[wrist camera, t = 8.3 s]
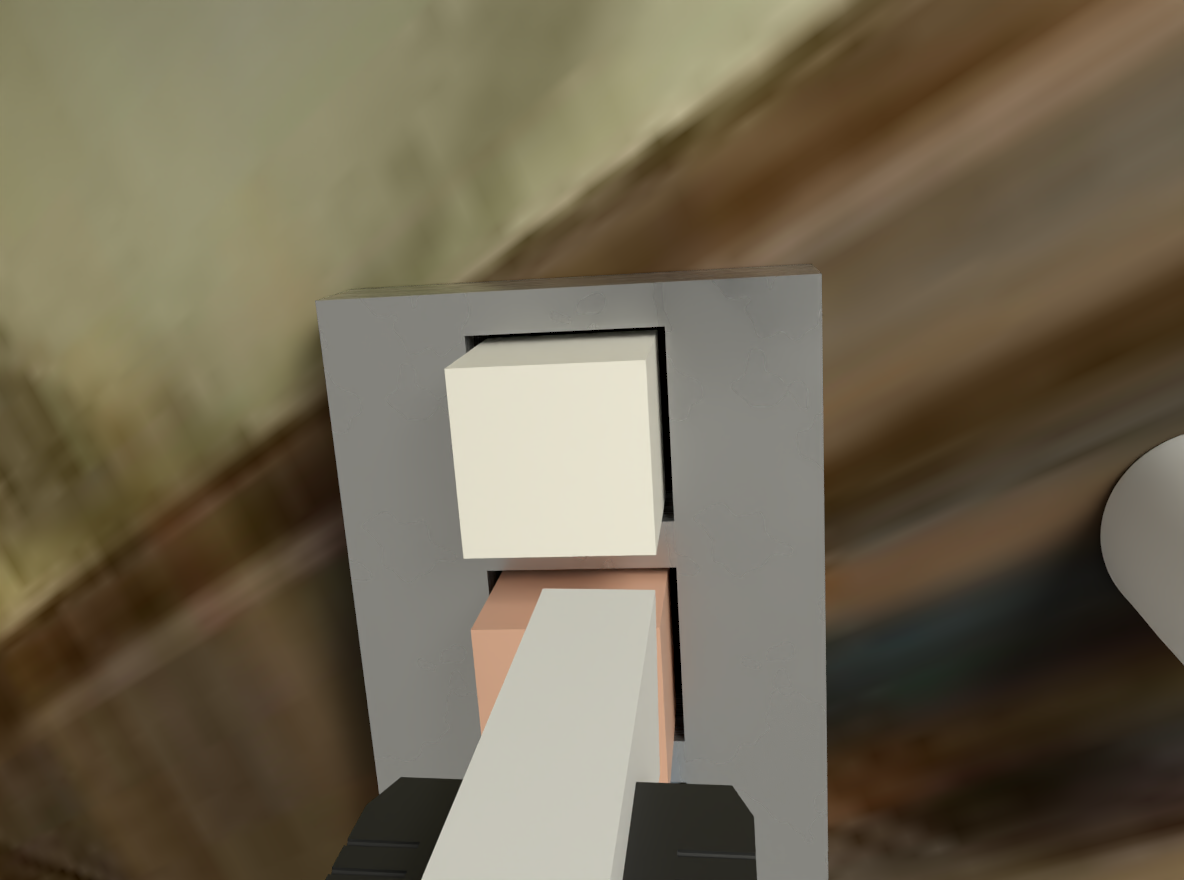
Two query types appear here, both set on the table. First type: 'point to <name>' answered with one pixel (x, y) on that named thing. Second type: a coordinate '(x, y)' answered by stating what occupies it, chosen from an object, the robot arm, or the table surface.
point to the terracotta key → (512, 612)
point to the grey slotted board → (686, 541)
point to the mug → (1150, 540)
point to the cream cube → (558, 445)
